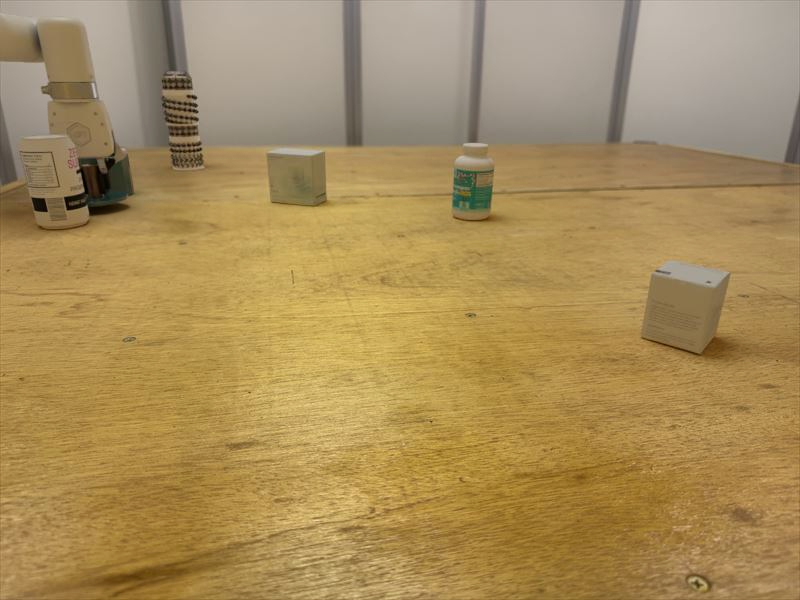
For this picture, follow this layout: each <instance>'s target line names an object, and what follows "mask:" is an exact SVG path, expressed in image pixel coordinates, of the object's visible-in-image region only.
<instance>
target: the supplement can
mask: <svg viewBox="0 0 800 600" xmlns="http://www.w3.org/2000/svg"><path fill="white" fill-rule="evenodd" d="M17 150H18V153H19V157H20V161H21V165H22V170H23V173H24V177H25V182H26V185H27V190H28V195H29V198H30V202H31V206H32V211H33V214H34V218H35V223H36V225H38V226H39V227H40V226H41V228H43V229H46V230H63V229H64V230H65V229H71V228H77V227H81V226H83V225H86V224H87V223H88V220H89V219H90V218H91V216H90V211H89V207H88V206H87V201H86V196H85V191H84V187H83V182H82V177H81V172H80V168H79V163H78V158H77V153H76V148H75V144H74V143H73V142H72V141H71V139H70V138H69V135H65V134H50V133H44V134H43V133H42V134H28V135H27V134H26V135H21V136H19V142H18V145H17Z"/></svg>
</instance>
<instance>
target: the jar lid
mask: <svg viewBox="0 0 800 600" xmlns="http://www.w3.org/2000/svg"><path fill="white" fill-rule="evenodd" d="M81 169H82V174H83V179H84V184H85V188H86V193H87V194H86V195H85V196H86V201H87V206H88V208H93V207H94V208H95V207H104V206H110V205H115V204H118V203H120V202H123V201H126V200H127V199H129V196H128V193H126V192H122V191H109V192H108V193H107V194H106V195H103V194H102V192H101V187H100V182H99V177H98V174H100V172H99V165H98V164H85V165H81Z"/></svg>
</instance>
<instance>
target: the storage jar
mask: <svg viewBox="0 0 800 600" xmlns="http://www.w3.org/2000/svg"><path fill="white" fill-rule="evenodd" d="M124 153H125V152H124ZM125 154H126V157H125V158H124V159H122V160H120V161H119V162H117V163H115V164H114V166H113V167H112V168H111V169H110V170H109V171H108V172H109V177H110V182H111V189H109V191H122V192H126V193H128V196H132V195H134V194H135V188H134V181H133V175H132V170H131V165H130V158H129V153H127V152H126V153H125ZM113 156H115V153H112V155H110V156H108V157H107V159H108V160H109V159H110V158H112V157H113ZM80 162H81V165H85V164H98V162H97V159H96V158H80ZM99 170H100V168H99Z"/></svg>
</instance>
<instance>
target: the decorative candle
mask: <svg viewBox="0 0 800 600" xmlns="http://www.w3.org/2000/svg"><path fill="white" fill-rule="evenodd" d="M160 79H161V86H162V87H161V88H162V89H161V91H162V96H160V101H162V104H161V106H162V107H163V108H164V109H165V110H164V111H163V115H164V116H165V117H164V121H165V125H166V126H167V129H168V133H169V135H168V139H169V142H168V145H169V146H170V147H171V148H169V152H171V154H170V156H169V157H170V159H171V162H170V164H171V165H172V168H171V169H172V170H173V171H181V172H182V171H183V172H185V171H186V172H189V171H197V170H198V171H199V170H203V169H205V165H204V163H205V160H204V159H203V158H204V154H203V153H202V151H203V148H202V147H201V146H202V141H201V136H200V133H199V125H200V122H199V120H200V119H199V118H200V117H197V115H198V113H199V110H198V109H197V108H198V106H199V105H198V103H196V102H195V101H196V100H198V96H197V95H196V94H195V90H194V88H193V86H194V85H193V77H192V76H191V75H190V73H189V72H187V71H183V70H175V71H174V70H166V71H164V72H163V74H162V76H161V77H160Z"/></svg>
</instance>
